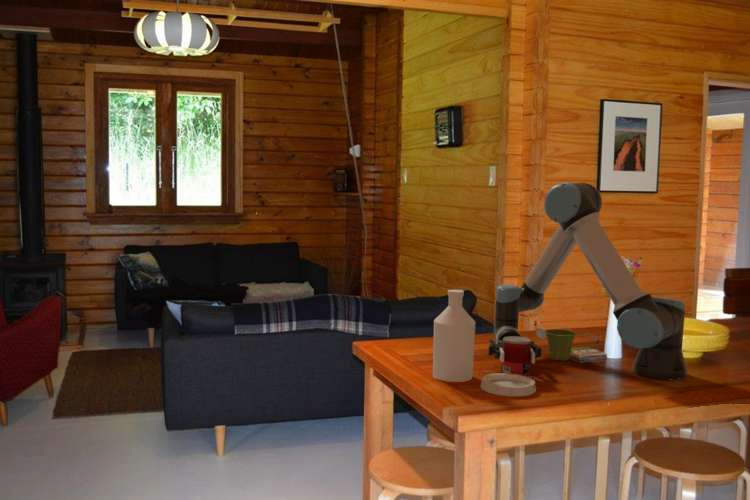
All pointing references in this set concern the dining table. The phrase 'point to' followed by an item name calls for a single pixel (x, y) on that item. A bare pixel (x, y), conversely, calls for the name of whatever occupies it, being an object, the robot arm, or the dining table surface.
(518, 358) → the canned food
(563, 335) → the plant pot
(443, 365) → the bottle
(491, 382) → the dish
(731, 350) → the dining table surface
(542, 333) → the eyeglasses
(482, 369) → the dining table surface
